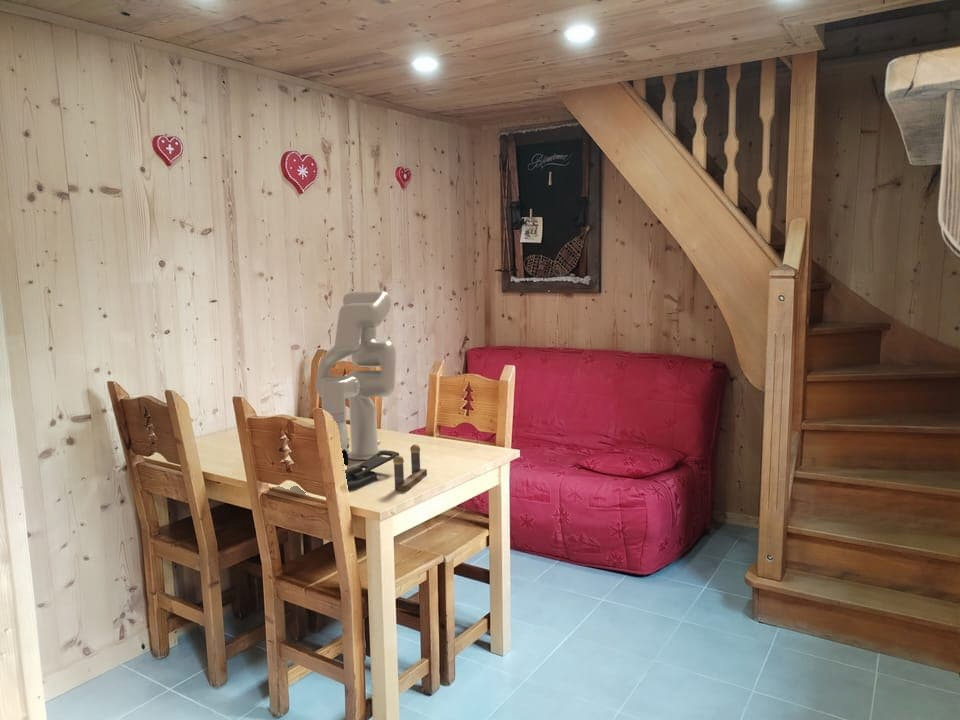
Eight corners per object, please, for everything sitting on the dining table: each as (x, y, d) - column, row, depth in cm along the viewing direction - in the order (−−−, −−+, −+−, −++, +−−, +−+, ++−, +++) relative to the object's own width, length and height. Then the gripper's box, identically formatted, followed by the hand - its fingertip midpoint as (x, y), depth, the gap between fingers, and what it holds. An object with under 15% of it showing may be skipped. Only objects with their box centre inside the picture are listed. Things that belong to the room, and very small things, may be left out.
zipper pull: (402, 452, 223) (349, 471, 202) (402, 471, 224) (350, 492, 203) (381, 449, 228) (328, 467, 207) (382, 468, 229) (329, 488, 208)
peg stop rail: (413, 474, 220) (412, 442, 219) (426, 475, 219) (425, 443, 218) (392, 491, 203) (390, 457, 202) (406, 492, 202) (405, 457, 200)
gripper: (336, 412, 225) (338, 461, 227) (310, 422, 208) (312, 476, 210) (356, 412, 223) (359, 462, 225) (331, 423, 206) (334, 477, 208)
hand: (336, 469), depth 217 cm, fingers open, 9 cm apart
